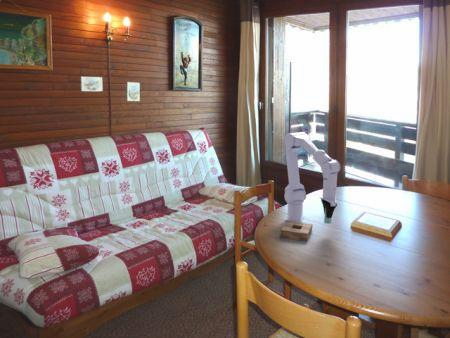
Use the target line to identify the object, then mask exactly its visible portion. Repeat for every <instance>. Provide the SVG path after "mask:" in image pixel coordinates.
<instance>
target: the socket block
mask: <svg viewBox="0 0 450 338" xmlns="http://www.w3.org/2000/svg"><path fill="white" fill-rule="evenodd" d="M312 232H313V224H311V223H305V222H301V223H299V222H291V221H286V222H285V223H284V225H283V226H282V227H281V229H280V238H282V239H287V240H289V239H291V240H297V241H303V242H304V241H305V242H308V241H309V239H310V236H311V234H312Z"/></svg>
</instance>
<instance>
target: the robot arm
mask: <svg viewBox="0 0 450 338" xmlns="http://www.w3.org/2000/svg"><path fill="white" fill-rule="evenodd" d="M283 139H284V148H285V156H286V166H287V178H288V184H287V186H286V187H285V188H284V200H285V202H286V203H287V217H286V218H285V220H284V221H291V222H299V223H303V222H302V221H303V220H304V218H305V215H303V213H304V212H303V209H304V207H303V206H304V205H303V204H304V201H305V200H306V199H307V192H306V190H305V186H304V185H303V184H302V183H301V182H300V181H301V180H300V170H299V160H298V158H299V157H298V151H299V150H300V149H301V148H304V149H305V150H306V151H307V152H308V153H309V154H311V155H312V159H313V160H314V161H315V162H316V164H317V165H319V166H320V170H321V172H322V178H323V181H322V182H323V183H322V185H323V186H322V195H320V196H319V199H320V201H321V204H322V207H323V213H324V215H325V209H326V217H327V218H331V219H332V217H333V215H334V212H335V210H336V207H337V206H338V203H337V183H338V174H339V172H340V171H341V167H342V166H341V164H340V162H339V161H338V160H337V159H333V158H331V157H330V156H329V155H328V154H327V153H326V151H325V150H323V149H319V148H317V146H316V145H315V144H314V143H313V141H311V139H310V136H309V135H308V134H307V133H306V132H305V131H301V132H291V133H290V132H288V133H287V134H286V135H285V137H284V138H283Z"/></svg>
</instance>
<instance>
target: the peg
mask: <svg viewBox="0 0 450 338" xmlns="http://www.w3.org/2000/svg"><path fill="white" fill-rule="evenodd" d="M323 222H324V224H327V225H328V224H329V225H330V224H332V218H327V217H326V209H325V214H324V220H323Z"/></svg>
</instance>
